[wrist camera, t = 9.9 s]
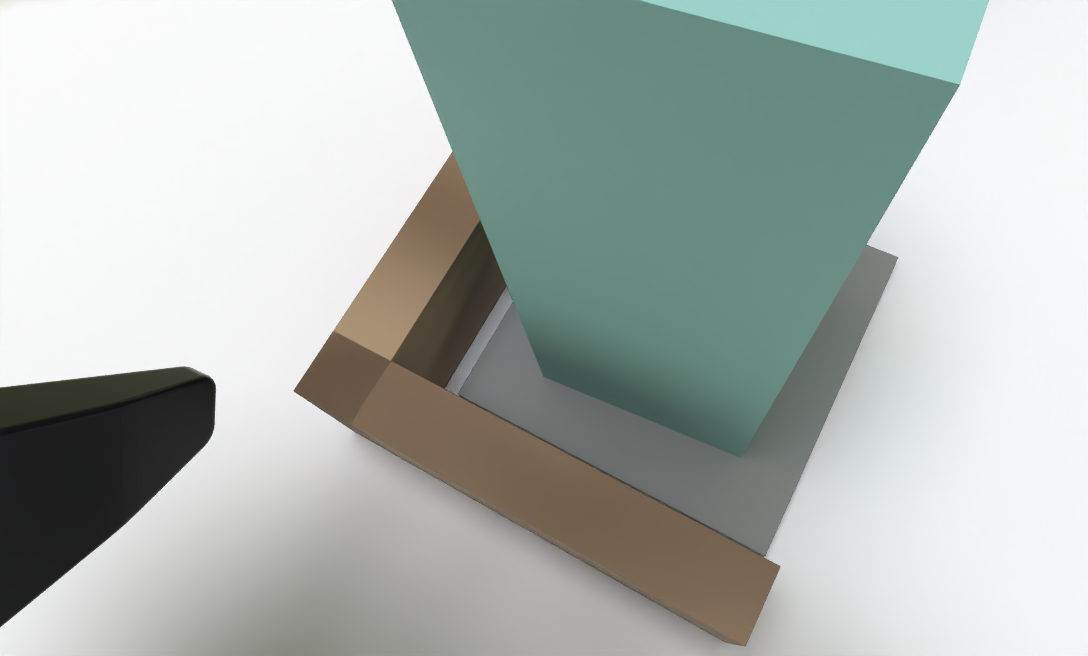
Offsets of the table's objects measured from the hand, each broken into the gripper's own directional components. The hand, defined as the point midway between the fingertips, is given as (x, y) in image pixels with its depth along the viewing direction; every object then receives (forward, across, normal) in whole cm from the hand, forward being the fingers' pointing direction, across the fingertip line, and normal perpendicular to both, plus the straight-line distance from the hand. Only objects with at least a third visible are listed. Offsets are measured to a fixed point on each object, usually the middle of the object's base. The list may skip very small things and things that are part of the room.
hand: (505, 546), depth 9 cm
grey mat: (+11, 0, +1) cm, 11 cm away
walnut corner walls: (+10, +1, +2) cm, 10 cm away
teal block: (+10, 0, +1) cm, 11 cm away
